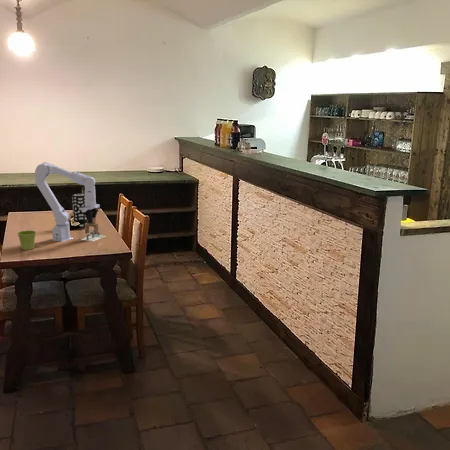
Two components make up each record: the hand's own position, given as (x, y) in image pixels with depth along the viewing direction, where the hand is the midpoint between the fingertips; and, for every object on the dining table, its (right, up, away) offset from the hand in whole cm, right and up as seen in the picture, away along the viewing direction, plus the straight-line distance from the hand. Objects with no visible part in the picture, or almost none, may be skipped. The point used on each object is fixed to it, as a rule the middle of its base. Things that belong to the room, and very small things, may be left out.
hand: (91, 222), depth 290 cm
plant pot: (-28, -14, -19) cm, 37 cm away
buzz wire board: (0, -9, +3) cm, 10 cm away
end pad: (+2, -8, +7) cm, 11 cm away
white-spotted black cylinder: (-15, -3, +31) cm, 35 cm away
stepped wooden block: (0, -6, +2) cm, 7 cm away
